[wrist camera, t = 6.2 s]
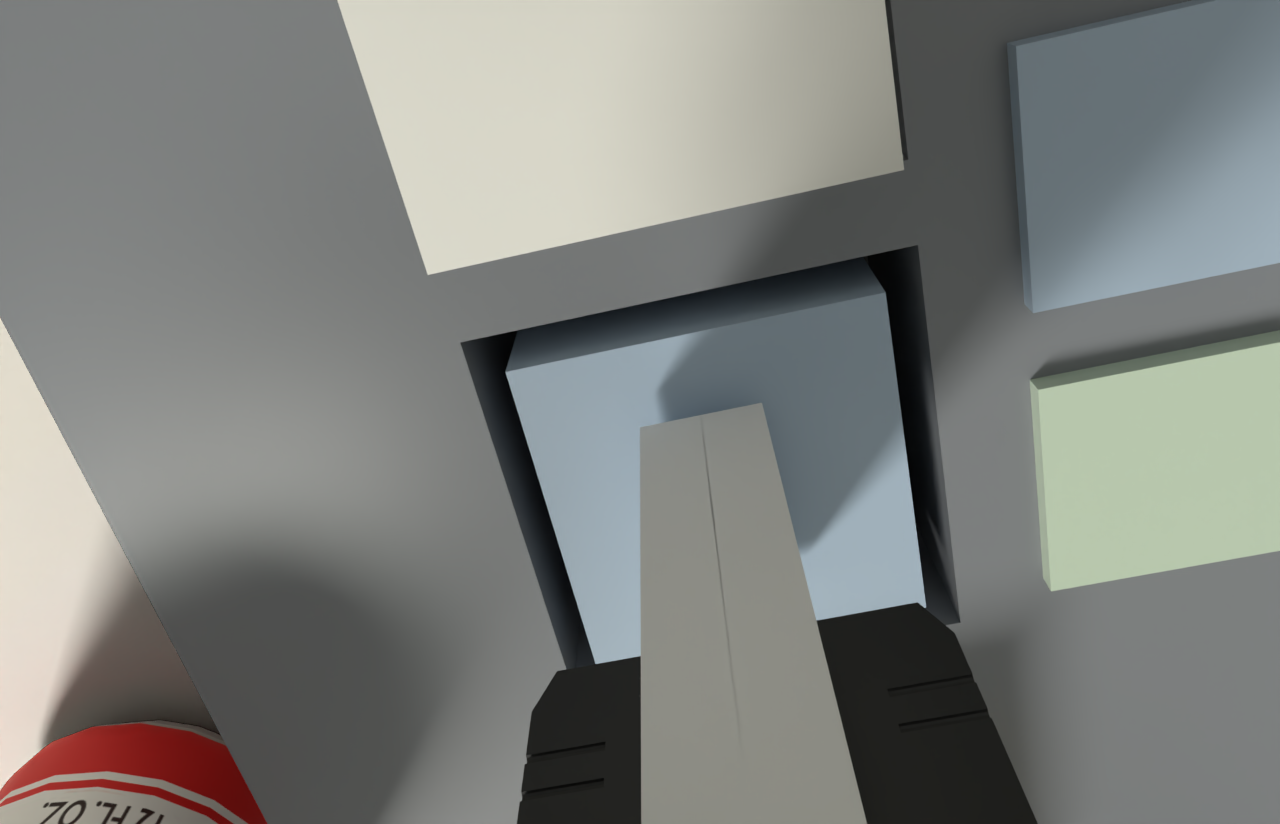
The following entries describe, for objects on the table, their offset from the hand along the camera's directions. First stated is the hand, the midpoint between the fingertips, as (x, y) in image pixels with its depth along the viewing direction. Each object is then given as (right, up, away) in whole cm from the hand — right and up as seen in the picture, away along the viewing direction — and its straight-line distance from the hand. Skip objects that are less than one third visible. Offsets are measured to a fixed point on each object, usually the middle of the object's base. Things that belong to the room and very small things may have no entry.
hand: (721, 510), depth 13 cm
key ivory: (-1, +6, -2) cm, 6 cm away
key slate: (0, +1, +2) cm, 3 cm away
